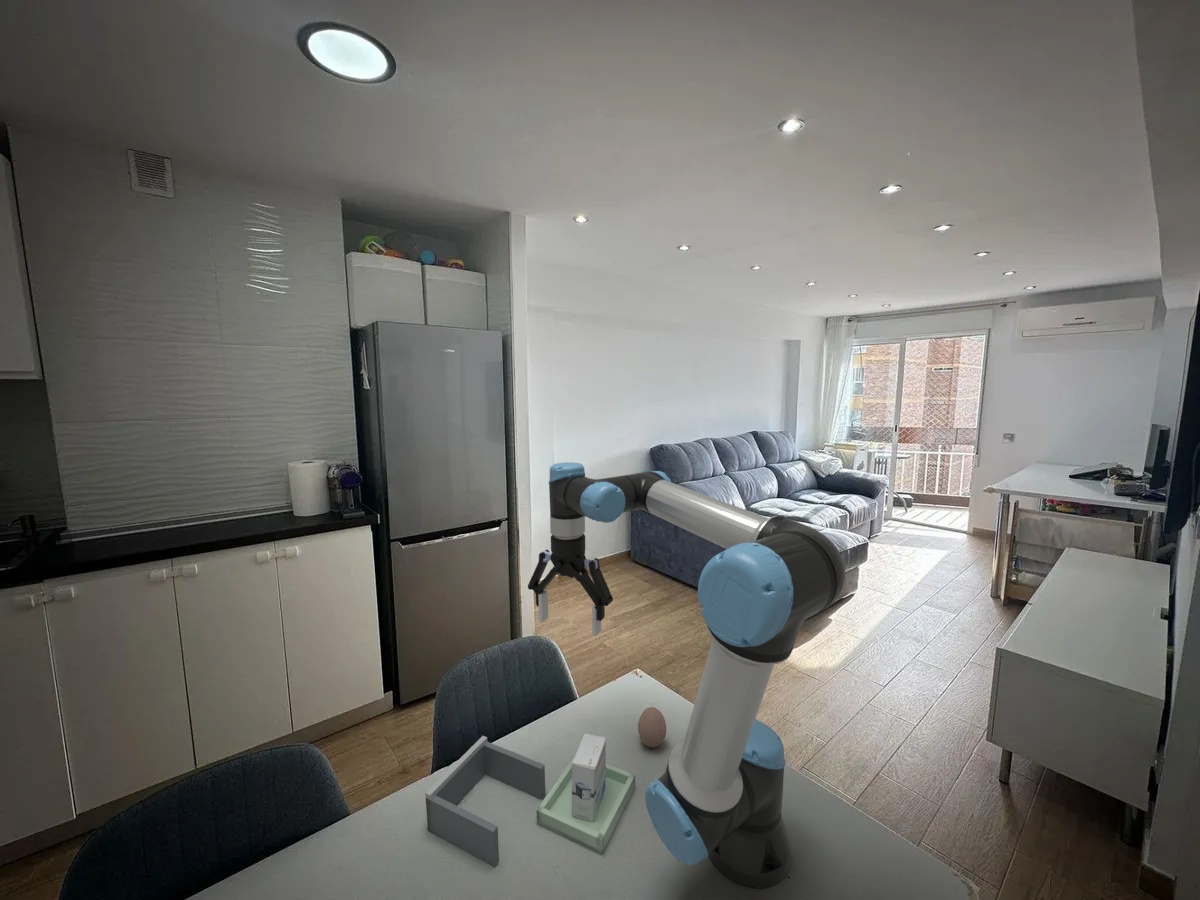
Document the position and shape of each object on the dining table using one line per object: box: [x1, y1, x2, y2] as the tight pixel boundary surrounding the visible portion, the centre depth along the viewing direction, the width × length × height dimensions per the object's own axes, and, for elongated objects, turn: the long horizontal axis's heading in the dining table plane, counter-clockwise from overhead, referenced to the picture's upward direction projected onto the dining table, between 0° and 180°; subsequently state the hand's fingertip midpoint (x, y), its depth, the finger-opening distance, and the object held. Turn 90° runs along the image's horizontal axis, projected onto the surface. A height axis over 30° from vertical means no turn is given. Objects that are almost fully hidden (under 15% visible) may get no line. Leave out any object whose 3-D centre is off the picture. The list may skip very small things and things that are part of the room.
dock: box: [425, 735, 546, 868], centre depth 94 cm, size 16×16×8 cm
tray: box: [535, 753, 636, 855], centre depth 96 cm, size 14×16×3 cm
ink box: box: [572, 732, 607, 822], centre depth 95 cm, size 9×5×12 cm, turn 164°
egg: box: [637, 706, 667, 748], centre depth 111 cm, size 7×7×9 cm
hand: (569, 626), depth 106 cm, fingers open, 13 cm apart
